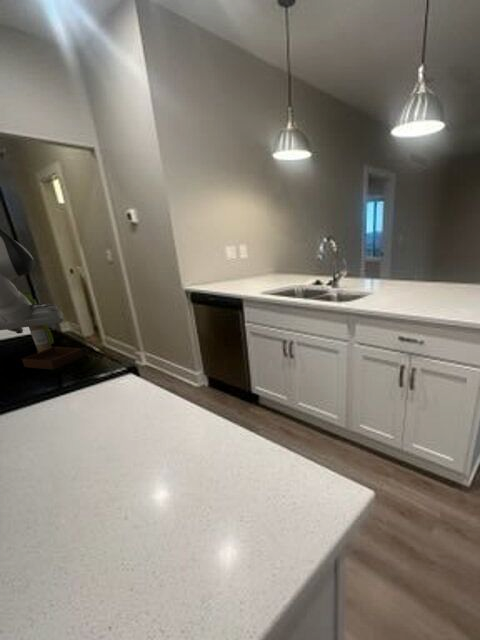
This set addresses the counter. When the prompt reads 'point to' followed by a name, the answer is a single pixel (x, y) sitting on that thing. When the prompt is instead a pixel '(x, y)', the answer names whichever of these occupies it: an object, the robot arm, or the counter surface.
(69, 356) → the food tray
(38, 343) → the sprinkles bottle
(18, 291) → the robot arm
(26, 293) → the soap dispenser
